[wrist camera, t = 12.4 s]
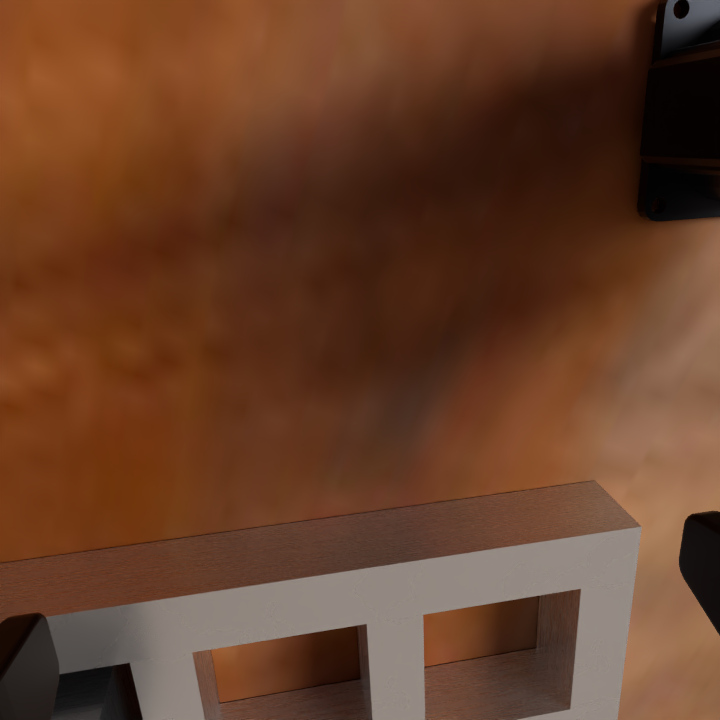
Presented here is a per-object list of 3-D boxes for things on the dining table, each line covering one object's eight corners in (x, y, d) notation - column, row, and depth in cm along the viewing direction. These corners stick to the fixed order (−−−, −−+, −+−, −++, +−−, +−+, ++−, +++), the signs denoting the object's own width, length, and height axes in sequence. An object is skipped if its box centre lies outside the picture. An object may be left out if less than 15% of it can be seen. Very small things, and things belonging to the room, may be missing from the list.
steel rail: (595, 480, 23) (641, 526, 21) (577, 679, 27) (614, 741, 24) (-106, 578, 20) (-164, 648, 17) (-25, 790, 24) (-62, 878, 21)
